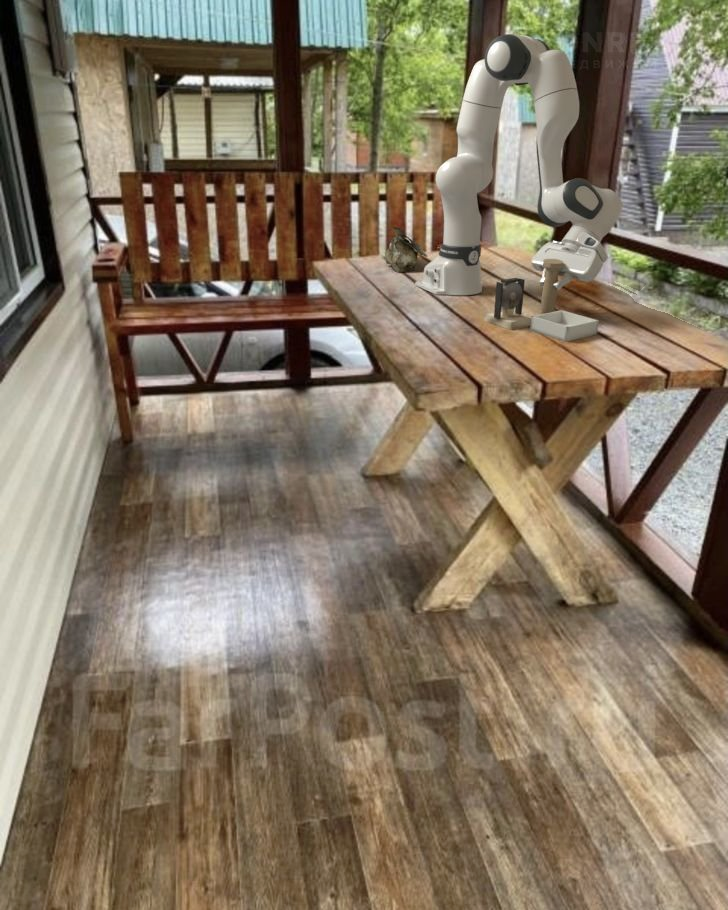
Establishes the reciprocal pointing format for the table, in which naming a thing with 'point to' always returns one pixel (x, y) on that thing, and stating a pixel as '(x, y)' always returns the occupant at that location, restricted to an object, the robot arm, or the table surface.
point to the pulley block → (509, 305)
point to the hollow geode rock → (403, 252)
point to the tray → (564, 325)
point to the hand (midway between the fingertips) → (548, 286)
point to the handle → (550, 284)
